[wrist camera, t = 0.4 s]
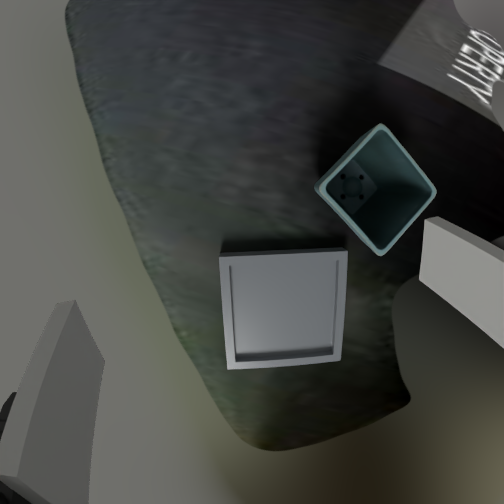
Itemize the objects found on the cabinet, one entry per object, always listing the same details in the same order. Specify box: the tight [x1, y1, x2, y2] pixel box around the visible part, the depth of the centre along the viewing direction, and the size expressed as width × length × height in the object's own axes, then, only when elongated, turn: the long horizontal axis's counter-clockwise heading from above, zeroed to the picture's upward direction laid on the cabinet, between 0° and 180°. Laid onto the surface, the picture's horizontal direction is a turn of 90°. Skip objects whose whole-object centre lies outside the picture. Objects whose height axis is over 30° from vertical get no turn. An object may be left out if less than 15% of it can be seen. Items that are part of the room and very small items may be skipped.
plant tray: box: [219, 247, 348, 369], centre depth 37 cm, size 14×14×2 cm
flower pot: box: [314, 123, 437, 256], centre depth 30 cm, size 9×9×9 cm
